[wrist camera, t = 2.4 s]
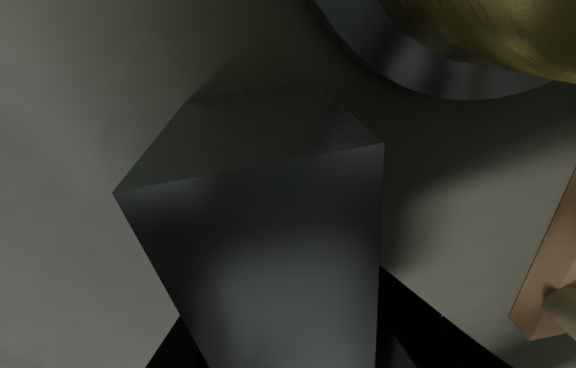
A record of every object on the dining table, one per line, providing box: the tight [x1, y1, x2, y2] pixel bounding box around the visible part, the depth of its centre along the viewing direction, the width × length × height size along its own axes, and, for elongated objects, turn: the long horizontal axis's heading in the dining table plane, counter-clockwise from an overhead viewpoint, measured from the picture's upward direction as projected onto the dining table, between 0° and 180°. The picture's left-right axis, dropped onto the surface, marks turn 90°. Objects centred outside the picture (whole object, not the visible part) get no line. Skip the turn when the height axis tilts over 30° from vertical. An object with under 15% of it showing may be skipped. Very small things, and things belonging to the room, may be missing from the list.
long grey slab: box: [112, 80, 385, 368], centre depth 8 cm, size 10×3×4 cm, turn 8°
